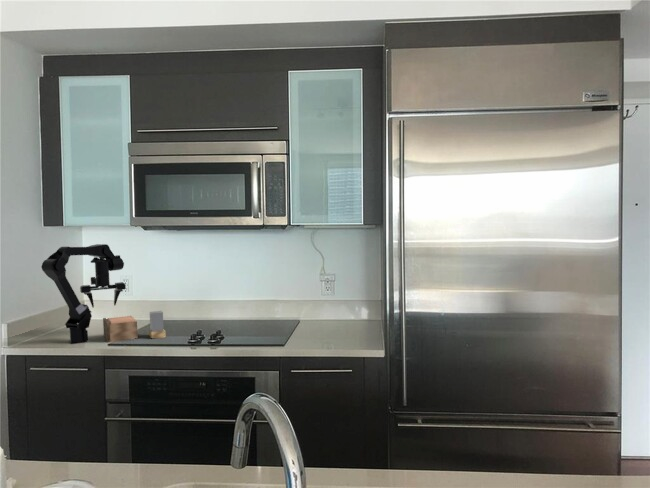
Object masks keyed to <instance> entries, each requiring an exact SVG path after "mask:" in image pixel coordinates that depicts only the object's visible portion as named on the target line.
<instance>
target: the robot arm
mask: <svg viewBox="0 0 650 488" xmlns="http://www.w3.org/2000/svg"><path fill="white" fill-rule="evenodd" d="M71 256H90V257H93V259H91V260H90V263H91V264H94V269H95V271H94V272H95V276H91V277H90V284H91V285H93V286H91V285H90V284H86V285H85V284H84V285H81V286H80V287H79V290H80V291H79V292H80V293H82V294H84V295H86V296H87V297H88V299H89V302H90V304H91V307H92V308H94V307H95V305H94V300H93V293H92V292H91V291H99V290H100V291H101V290H113V291H114V295H113V306H116V305H117V301H118V299H119V296H120V293H122V292H123V291H124V290H127V289H126V286H127V285H126V284H125V282H123V281H122V282H114V284H111V283H110V272H113V271H120V270H123V268H124V266H125V262H124V260H123V259H122V258H121V255H120V254H119V255H117V254H116V255H115V254H114V253H113V251H112V250H111V248H110V246H109V244H107V243H102V244H99V243H98V244H97V243H96V244H91V245H89V246H60V247H59V248H58V249H57V250H56V251H55V252H53V253H52V254H50V255H49V256H48V258H46V259H45V260H43V262H42V264H41V269H42V271H43V273H44V274H45V275H46V276H47V277H48V278H50V280H52V281H53V282H54V284H55V286H56V287H57V289H58V291H59V293H60V294H61V296H62V298H63V300H64V302H65V304H66V305H67V307H68V316H69V318H68V319H67V321H66V322H65V323H64V325H65V327H66V329H69V343H70V344H71V345H74V344H81V343H82V344H84V343H88V340H89V336H88V334H89V332H88V330H87V329H88V328H90V324H91V320H92V316H93V315H92V311H91V309H90V307H89V306H88V304H82V302H80V300H79V298H78V296H77V294H76V293H75V290H74V289H73V287H72V286H71V283H70V281H69V280H68V279H67V276H66V273H67V270H66V267H65V266H66V265H67V264H68V263H69V259H70V257H71Z"/></svg>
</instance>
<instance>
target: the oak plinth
mask: <svg viewBox="0 0 650 488" xmlns="http://www.w3.org/2000/svg"><path fill="white" fill-rule="evenodd" d="M166 332H167V331H166V330H165V329H164V331H155V332H152V331H151V330H150V329H148V337H149V336H150V337H151V338H156V339H162V338H167V337H166V336H167V334H166ZM150 337H149V338H150ZM151 338H150V339H151Z"/></svg>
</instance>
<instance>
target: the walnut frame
mask: <svg viewBox="0 0 650 488" xmlns="http://www.w3.org/2000/svg"><path fill="white" fill-rule="evenodd" d="M107 319H108V318H107V317H103V318H102V321H103V322H102V325H103V337H104V339H105V340H106V342H107V343H114V342H122V340H123V341H128V340H127V339H131V338H139V336H138V335H139V334H138V321H137V320H135V321H133V322H124V323H115V324H110V322H109V321H108V320H107ZM131 340H132V339H131Z"/></svg>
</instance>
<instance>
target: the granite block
mask: <svg viewBox="0 0 650 488" xmlns="http://www.w3.org/2000/svg"><path fill="white" fill-rule="evenodd" d="M164 328H165V327H164V313H163V311H162V310H157V311H156V310H155V311H154V310H153V311H149V330H151V331H152V332H155V331H164V330H165V329H164Z"/></svg>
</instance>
